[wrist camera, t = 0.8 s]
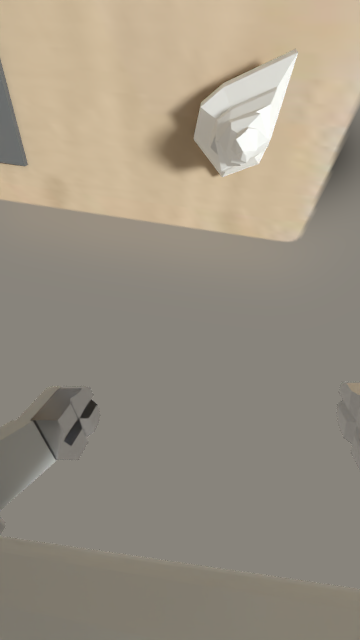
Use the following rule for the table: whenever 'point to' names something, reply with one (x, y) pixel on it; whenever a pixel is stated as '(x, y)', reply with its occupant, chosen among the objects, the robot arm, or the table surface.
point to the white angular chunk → (243, 115)
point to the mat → (9, 129)
